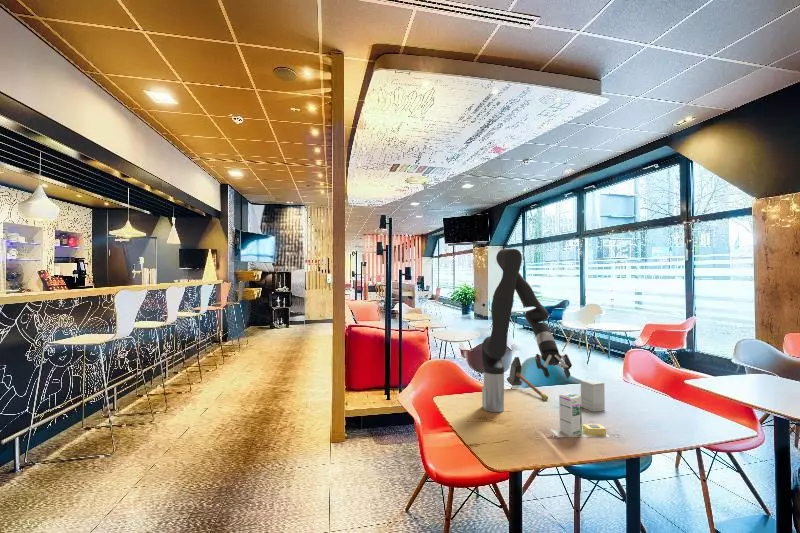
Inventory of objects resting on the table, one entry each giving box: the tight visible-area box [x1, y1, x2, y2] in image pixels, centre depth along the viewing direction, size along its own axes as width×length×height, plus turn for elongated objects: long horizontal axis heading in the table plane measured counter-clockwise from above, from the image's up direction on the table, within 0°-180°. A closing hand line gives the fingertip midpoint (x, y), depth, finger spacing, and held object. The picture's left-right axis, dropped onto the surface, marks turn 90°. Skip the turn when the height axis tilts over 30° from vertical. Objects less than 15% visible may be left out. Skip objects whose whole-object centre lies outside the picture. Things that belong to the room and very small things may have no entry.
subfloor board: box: [549, 428, 610, 438], centre depth 142 cm, size 20×14×1 cm
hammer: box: [506, 356, 549, 401], centre depth 196 cm, size 6×16×30 cm
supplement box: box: [580, 378, 606, 413], centre depth 172 cm, size 7×7×13 cm
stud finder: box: [582, 423, 607, 435], centre depth 142 cm, size 7×4×3 cm, turn 92°
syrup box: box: [558, 392, 583, 438], centre depth 142 cm, size 6×6×14 cm
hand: (558, 377), depth 153 cm, fingers open, 8 cm apart
